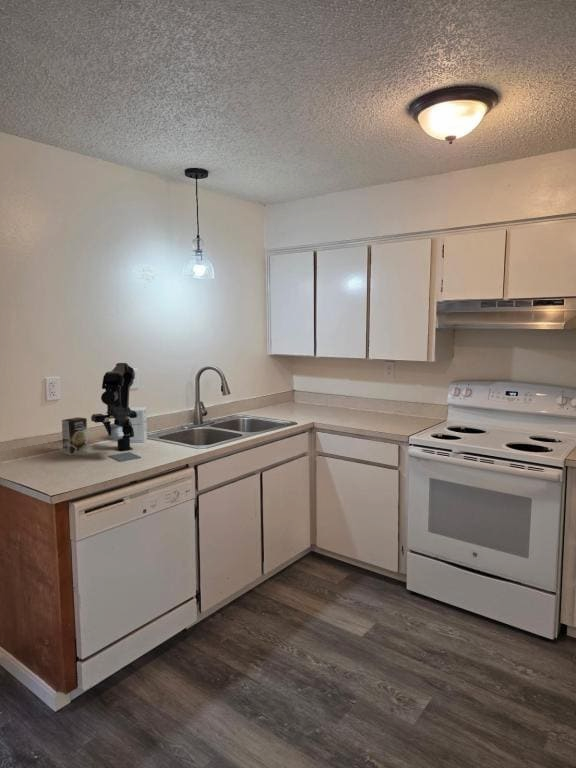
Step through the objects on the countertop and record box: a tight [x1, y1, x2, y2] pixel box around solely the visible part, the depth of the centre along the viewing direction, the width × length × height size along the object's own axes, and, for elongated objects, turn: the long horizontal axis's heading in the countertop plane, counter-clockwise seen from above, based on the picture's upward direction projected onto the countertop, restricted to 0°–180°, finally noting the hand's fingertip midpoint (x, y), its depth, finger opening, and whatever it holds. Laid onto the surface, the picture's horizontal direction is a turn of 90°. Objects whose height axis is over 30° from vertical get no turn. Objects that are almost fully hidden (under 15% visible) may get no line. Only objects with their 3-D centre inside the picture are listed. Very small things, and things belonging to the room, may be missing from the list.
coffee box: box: [61, 417, 89, 456], centre depth 234 cm, size 9×6×16 cm
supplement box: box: [128, 406, 148, 444], centre depth 260 cm, size 10×9×17 cm
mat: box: [108, 451, 142, 463], centre depth 228 cm, size 12×10×1 cm
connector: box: [107, 423, 124, 441], centre depth 224 cm, size 12×4×5 cm, turn 41°
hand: (115, 435), depth 225 cm, fingers closed on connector, 4 cm apart
